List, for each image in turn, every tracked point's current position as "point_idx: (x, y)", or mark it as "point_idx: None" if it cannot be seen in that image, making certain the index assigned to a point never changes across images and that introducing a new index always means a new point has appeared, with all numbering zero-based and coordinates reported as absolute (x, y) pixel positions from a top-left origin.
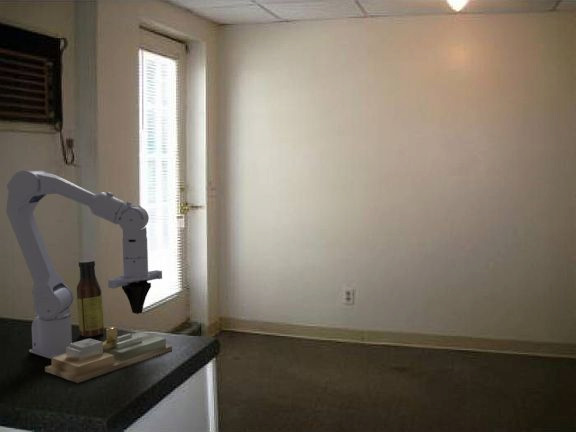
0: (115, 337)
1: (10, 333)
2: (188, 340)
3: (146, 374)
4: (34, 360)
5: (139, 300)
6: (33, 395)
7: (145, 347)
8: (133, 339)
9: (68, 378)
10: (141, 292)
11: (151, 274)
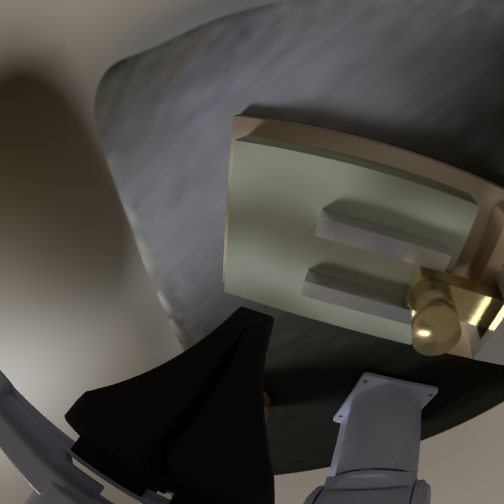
0: (440, 289)
1: (306, 467)
2: (137, 140)
3: (497, 53)
4: (442, 403)
5: (236, 375)
6: None
7: (358, 162)
8: (369, 231)
9: None
10: (197, 419)
11: (14, 464)
